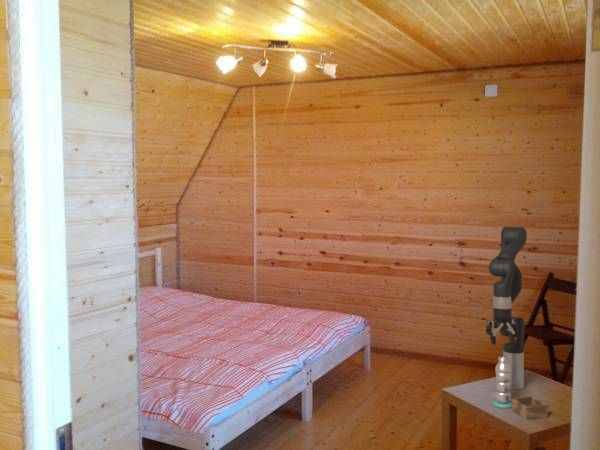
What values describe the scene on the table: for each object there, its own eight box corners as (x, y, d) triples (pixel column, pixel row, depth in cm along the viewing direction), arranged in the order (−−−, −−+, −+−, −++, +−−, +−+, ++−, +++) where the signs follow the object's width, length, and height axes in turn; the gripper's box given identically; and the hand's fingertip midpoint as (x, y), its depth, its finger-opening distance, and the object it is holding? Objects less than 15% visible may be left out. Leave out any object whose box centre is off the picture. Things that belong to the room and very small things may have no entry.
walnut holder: (511, 410, 255) (511, 398, 255) (532, 407, 257) (532, 396, 257) (526, 420, 244) (526, 408, 244) (548, 417, 247) (548, 405, 246)
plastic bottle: (491, 400, 263) (491, 355, 262) (504, 398, 266) (504, 353, 264) (501, 405, 257) (501, 360, 256) (514, 403, 260) (514, 357, 258)
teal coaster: (487, 402, 265) (487, 399, 265) (506, 399, 267) (506, 397, 267) (499, 409, 256) (499, 407, 256) (517, 407, 258) (517, 404, 258)
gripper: (511, 303, 263) (512, 339, 264) (482, 305, 260) (482, 342, 261) (522, 306, 256) (522, 344, 257) (492, 309, 252) (492, 347, 254)
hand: (502, 343), depth 259 cm, fingers open, 8 cm apart
